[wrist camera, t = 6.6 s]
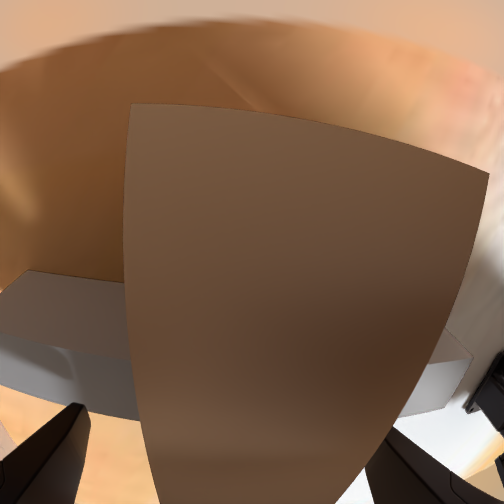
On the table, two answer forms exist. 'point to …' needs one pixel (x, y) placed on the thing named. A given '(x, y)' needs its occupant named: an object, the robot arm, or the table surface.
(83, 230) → the table surface
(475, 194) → the walnut slat
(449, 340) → the notched gray bar
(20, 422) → the table surface
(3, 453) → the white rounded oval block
